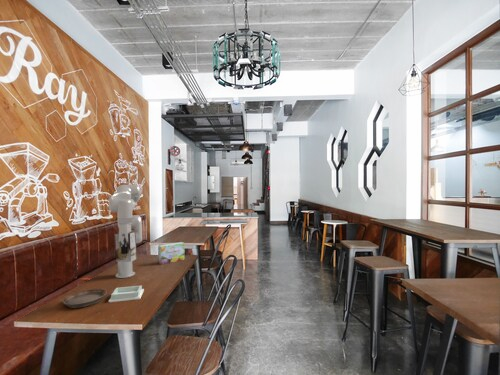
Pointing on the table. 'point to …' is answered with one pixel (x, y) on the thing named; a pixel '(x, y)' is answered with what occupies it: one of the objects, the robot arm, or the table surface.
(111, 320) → the table surface
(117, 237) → the coffee box
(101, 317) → the table surface
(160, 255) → the snack box
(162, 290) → the table surface
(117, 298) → the stand
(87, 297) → the plant saucer
